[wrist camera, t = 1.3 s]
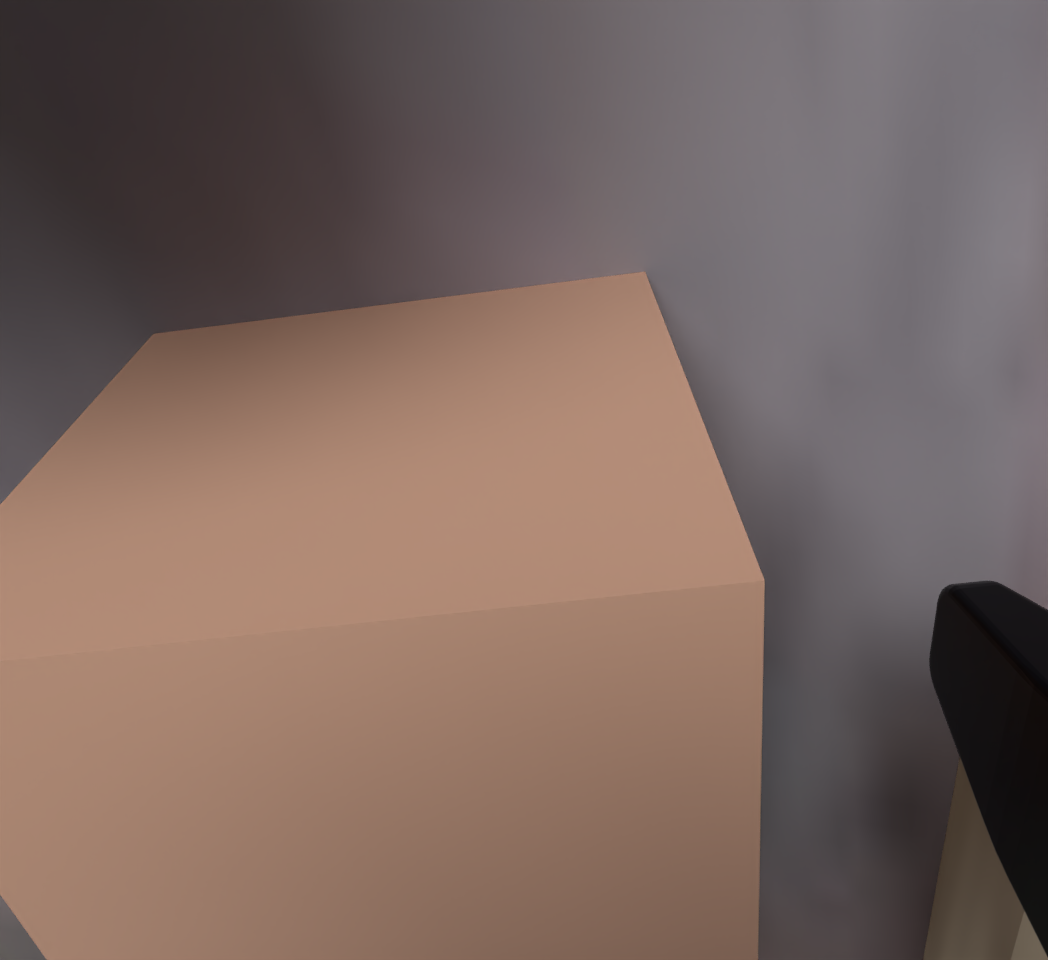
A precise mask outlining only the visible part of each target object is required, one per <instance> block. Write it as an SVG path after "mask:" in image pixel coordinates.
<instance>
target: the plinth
mask: <svg viewBox="0 0 1048 960" xmlns="http://www.w3.org/2000/svg"><path fill="white" fill-rule="evenodd" d="M923 960H1048V957H1047V955H1046V953H1045V951H1044V949H1043V947H1042V945H1041V943H1040V941H1039V939H1038V937H1037V935H1036V933H1035V931H1034V929H1033V927H1032V925H1031V923H1030V921H1029V919H1028V917H1027V915H1026V913H1025V911H1024V909H1023V907H1022V905H1021V903H1020V901H1019V899H1018V897H1017V895H1016V893H1015V891H1014V889H1013V887H1012V885H1011V883H1010V881H1009V879H1008V877H1007V875H1006V873H1005V871H1004V868H1003V866H1002V864H1001V862H1000V860H999V858H998V856H997V854H996V851H995V849H994V847H993V844H992V841H991V839H990V836H989V834H988V831H987V829H986V826H985V824H984V821H983V819H982V816H981V813H980V810H979V808H978V805H977V802H976V800H975V797H974V794H973V791H972V789H971V786H970V783H969V781H968V778H967V775H966V772H965V770H964V767H963V764H962V762H961V759H960V758H959V764H958V769H957V775H956V781H955V786H954V792H953V797H952V803H951V808H950V814H949V819H948V825H947V830H946V836H945V841H944V847H943V852H942V858H941V863H940V869H939V874H938V880H937V885H936V891H935V896H934V902H933V908H932V913H931V919H930V924H929V930H928V935H927V941H926V946H925V952H924V957H923Z"/></svg>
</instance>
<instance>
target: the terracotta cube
mask: <svg viewBox="0 0 1048 960" xmlns="http://www.w3.org/2000/svg"><path fill="white" fill-rule="evenodd" d="M764 589H765V580H764V578H763V575H762V572H761V570H760V567H759V565H758V562H757V559H756V557H755V554H754V552H753V549H752V547H751V544H750V541H749V539H748V536H747V534H746V531H745V528H744V526H743V523H742V521H741V518H740V516H739V513H738V510H737V508H736V505H735V503H734V500H733V498H732V495H731V492H730V490H729V487H728V485H727V482H726V479H725V477H724V474H723V472H722V469H721V467H720V464H719V461H718V459H717V456H716V454H715V451H714V448H713V446H712V443H711V441H710V438H709V436H708V433H707V430H706V428H705V425H704V423H703V420H702V417H701V415H700V412H699V410H698V407H697V405H696V402H695V399H694V397H693V394H692V392H691V389H690V387H689V384H688V381H687V379H686V376H685V374H684V371H683V368H682V366H681V363H680V361H679V358H678V356H677V353H676V350H675V348H674V345H673V343H672V340H671V337H670V335H669V332H668V330H667V327H666V325H665V322H664V319H663V317H662V314H661V312H660V309H659V306H658V304H657V301H656V299H655V296H654V294H653V291H652V288H651V286H650V283H649V281H648V278H647V276H646V273H645V272H638V273H630V274H622V275H614V276H606V277H599V278H591V279H583V280H575V281H567V282H559V283H551V284H543V285H535V286H527V287H519V288H512V289H504V290H496V291H488V292H480V293H472V294H464V295H456V296H448V297H440V298H433V299H425V300H417V301H409V302H401V303H393V304H385V305H377V306H369V307H361V308H353V309H346V310H338V311H330V312H322V313H314V314H306V315H298V316H290V317H282V318H274V319H267V320H259V321H251V322H243V323H235V324H227V325H219V326H211V327H203V328H195V329H187V330H180V331H172V332H164V333H156V334H153V335H152V336H151V337H150V338H149V339H148V340H147V342H146V343H145V344H144V345H143V346H142V347H141V348H140V349H139V350H138V352H137V353H136V354H135V355H134V356H133V357H132V358H131V359H130V361H129V362H128V363H127V364H126V365H125V366H124V367H123V368H122V369H121V371H120V372H119V373H118V374H117V375H116V376H115V377H114V378H113V379H112V381H111V382H110V383H109V384H108V385H107V386H106V387H105V388H104V390H103V391H102V392H101V393H100V394H99V395H98V396H97V397H96V398H95V400H94V401H93V402H92V403H91V404H90V405H89V406H88V407H87V408H86V410H85V411H84V412H83V413H82V414H81V415H80V416H79V417H78V419H77V420H76V421H75V422H74V423H73V424H72V425H71V426H70V427H69V429H68V430H67V431H66V432H65V433H64V434H63V435H62V436H61V438H60V439H59V440H58V441H57V442H56V443H55V444H54V445H53V446H52V448H51V449H50V450H49V451H48V452H47V453H46V454H45V455H44V456H43V458H42V459H41V460H40V461H39V462H38V463H37V464H36V465H35V467H34V468H33V469H32V470H31V471H30V472H29V473H28V474H27V475H26V477H25V478H24V479H23V480H22V481H21V482H20V483H19V484H18V485H17V487H16V488H15V489H14V490H13V491H12V492H11V493H10V494H9V496H8V497H7V498H6V499H5V500H4V501H3V502H2V503H1V504H0V895H1V896H2V898H3V899H4V900H5V902H6V903H7V905H8V906H9V907H10V909H11V910H12V912H13V913H14V914H15V916H16V917H17V919H18V920H19V921H20V923H21V924H22V926H23V927H24V928H25V930H26V931H27V933H28V934H29V935H30V937H31V938H32V940H33V941H34V942H35V944H36V945H37V947H38V948H39V949H40V951H41V952H42V954H43V955H44V956H45V958H46V959H47V960H758V930H759V873H760V816H761V760H762V703H763V646H764Z"/></svg>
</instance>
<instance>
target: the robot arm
mask: <svg viewBox="0 0 1048 960" xmlns="http://www.w3.org/2000/svg"><path fill="white" fill-rule="evenodd" d="M929 662H930V673H931V678H932V682H933V685H934V688H935V691H936V694H937V696H938V699H939V702H940V705H941V707H942V710H943V713H944V715H945V718H946V721H947V724H948V726H949V729H950V732H951V734H952V737H953V740H954V743H955V745H956V748H957V751H958V753H959V756H960V759H961V762H962V764H963V767H964V770H965V772H966V775H967V778H968V781H969V783H970V786H971V789H972V791H973V794H974V797H975V800H976V802H977V805H978V808H979V810H980V813H981V816H982V819H983V821H984V824H985V826H986V829H987V831H988V834H989V836H990V839H991V841H992V844H993V847H994V849H995V851H996V854H997V856H998V858H999V860H1000V862H1001V864H1002V866H1003V868H1004V871H1005V873H1006V875H1007V877H1008V879H1009V881H1010V883H1011V885H1012V887H1013V889H1014V891H1015V893H1016V895H1017V897H1018V899H1019V901H1020V903H1021V905H1022V907H1023V909H1024V911H1025V913H1026V915H1027V917H1028V919H1029V921H1030V923H1031V925H1032V927H1033V929H1034V931H1035V933H1036V935H1037V937H1038V939H1039V941H1040V943H1041V945H1042V947H1043V949H1044V951H1045V953H1046V955H1047V957H1048V610H1047V609H1045V608H1044V607H1042V606H1040V605H1038V604H1036V603H1035V602H1033V601H1031V600H1029V599H1028V598H1026V597H1024V596H1022V595H1020V594H1019V593H1017V592H1015V591H1013V590H1011V589H1010V588H1008V587H1006V586H1004V585H1002V584H1000V583H998V582H994V581H979V582H969V583H960V584H951V585H948V586H947V587H945V588H944V589H943V590H942V591H941V593H940V595H939V598H938V602H937V609H936V616H935V623H934V630H933V636H932V643H931V650H930V658H929Z"/></svg>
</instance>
